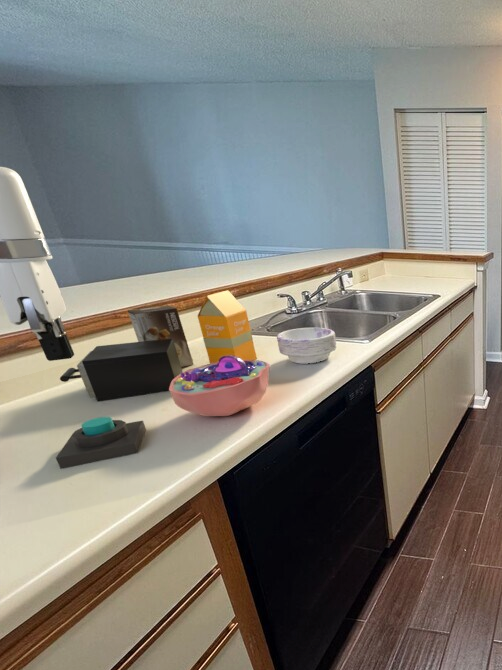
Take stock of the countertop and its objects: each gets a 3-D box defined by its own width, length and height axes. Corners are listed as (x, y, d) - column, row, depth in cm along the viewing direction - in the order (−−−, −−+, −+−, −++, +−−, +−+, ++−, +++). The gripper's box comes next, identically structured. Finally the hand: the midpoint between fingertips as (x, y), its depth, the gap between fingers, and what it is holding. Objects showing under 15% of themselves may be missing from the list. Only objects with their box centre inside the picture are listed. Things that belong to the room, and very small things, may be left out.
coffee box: (185, 360, 121) (169, 304, 115) (194, 364, 117) (178, 307, 111) (146, 368, 114) (126, 309, 108) (153, 373, 111) (134, 313, 105)
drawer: (63, 402, 92) (49, 368, 89) (78, 384, 101) (66, 353, 98) (165, 387, 101) (155, 356, 98) (170, 372, 109) (162, 343, 107)
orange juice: (257, 358, 123) (242, 289, 116) (238, 369, 115) (221, 295, 108) (231, 357, 123) (214, 289, 116) (210, 368, 115) (190, 294, 108)
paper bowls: (347, 352, 130) (343, 327, 127) (321, 369, 116) (317, 341, 113) (300, 349, 132) (296, 325, 129) (269, 366, 118) (264, 338, 115)
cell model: (154, 427, 84) (136, 374, 80) (229, 389, 102) (218, 344, 98) (230, 434, 82) (216, 380, 78) (294, 394, 100) (285, 348, 96)
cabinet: (97, 401, 94) (81, 361, 91) (110, 383, 104) (96, 346, 101) (178, 389, 102) (166, 351, 98) (182, 373, 111) (172, 338, 108)
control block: (60, 469, 70) (51, 448, 69) (77, 442, 78) (69, 423, 76) (137, 453, 75) (130, 433, 74) (146, 430, 83) (140, 411, 81)
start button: (81, 438, 73) (78, 429, 72) (88, 428, 76) (84, 419, 75) (112, 432, 75) (109, 423, 74) (117, 423, 78) (114, 415, 77)
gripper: (1, 248, 72) (45, 350, 79) (-41, 256, 60) (15, 375, 67) (61, 246, 76) (98, 344, 83) (33, 253, 64) (79, 366, 71)
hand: (61, 358), depth 75 cm, fingers closed
